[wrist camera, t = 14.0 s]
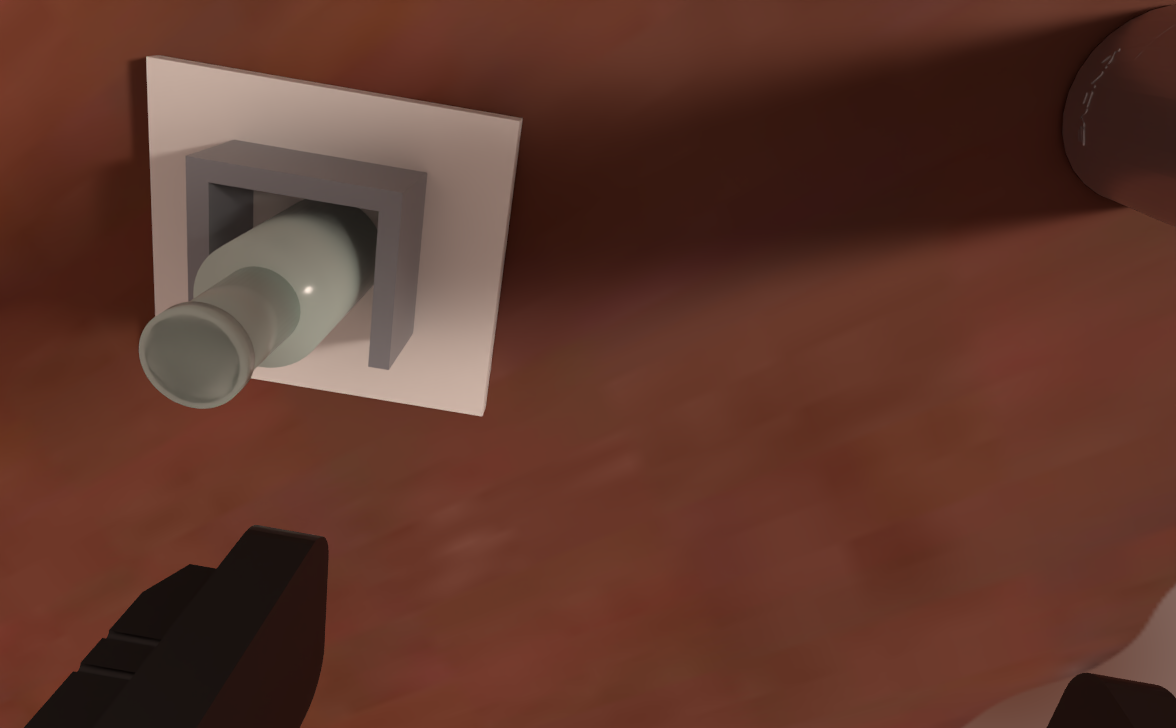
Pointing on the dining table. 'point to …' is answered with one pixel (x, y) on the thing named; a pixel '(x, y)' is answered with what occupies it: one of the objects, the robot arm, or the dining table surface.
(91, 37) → the dining table surface
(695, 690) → the dining table surface
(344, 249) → the bottle
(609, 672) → the dining table surface
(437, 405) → the u rest
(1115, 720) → the robot arm
